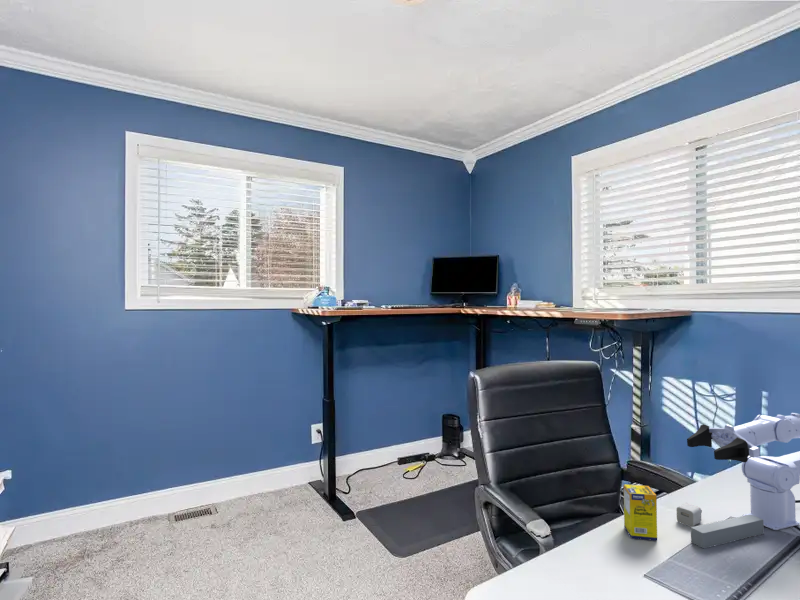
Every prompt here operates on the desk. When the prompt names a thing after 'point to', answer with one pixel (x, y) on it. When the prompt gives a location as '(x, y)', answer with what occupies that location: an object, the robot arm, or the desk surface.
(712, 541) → the slate rail
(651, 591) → the desk surface
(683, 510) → the usb wall charger
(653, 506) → the supplement box
